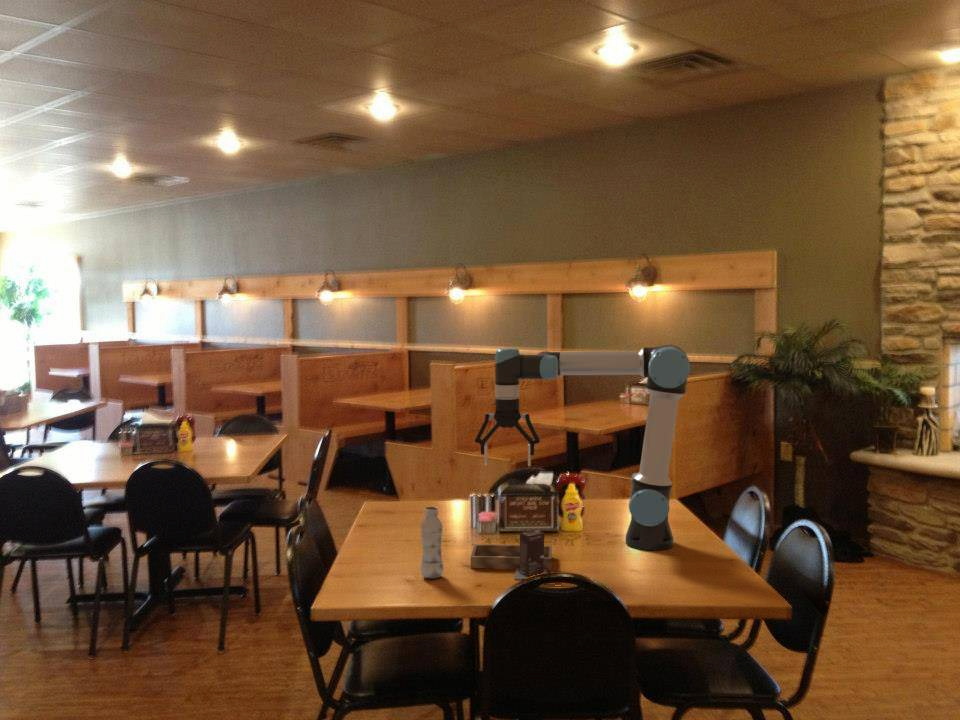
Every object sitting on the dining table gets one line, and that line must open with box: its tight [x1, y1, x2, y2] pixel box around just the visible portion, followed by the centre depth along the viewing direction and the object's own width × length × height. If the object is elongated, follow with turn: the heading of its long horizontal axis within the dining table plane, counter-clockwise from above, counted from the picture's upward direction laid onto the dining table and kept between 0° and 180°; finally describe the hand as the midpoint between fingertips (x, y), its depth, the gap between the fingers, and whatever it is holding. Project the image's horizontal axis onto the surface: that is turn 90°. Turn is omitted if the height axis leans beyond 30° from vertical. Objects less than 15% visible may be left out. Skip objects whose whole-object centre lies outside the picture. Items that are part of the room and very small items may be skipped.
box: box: [519, 529, 545, 577], centre depth 249 cm, size 6×4×12 cm
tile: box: [514, 568, 548, 581], centre depth 249 cm, size 9×9×1 cm
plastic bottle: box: [420, 506, 444, 580], centre depth 247 cm, size 6×7×20 cm
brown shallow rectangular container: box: [470, 543, 553, 571], centre depth 260 cm, size 24×13×4 cm, turn 85°
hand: (507, 465), depth 272 cm, fingers open, 13 cm apart
